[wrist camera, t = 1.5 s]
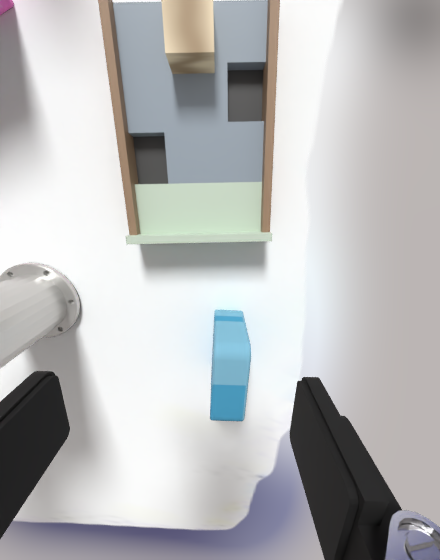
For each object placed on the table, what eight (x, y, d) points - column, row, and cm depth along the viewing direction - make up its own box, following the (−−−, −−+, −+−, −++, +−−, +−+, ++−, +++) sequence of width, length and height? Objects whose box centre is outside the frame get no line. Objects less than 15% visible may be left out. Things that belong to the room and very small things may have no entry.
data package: (214, 306, 39) (213, 348, 28) (241, 307, 39) (252, 349, 28) (211, 367, 43) (209, 426, 31) (236, 368, 43) (243, 427, 31)
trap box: (138, 239, 36) (126, 244, 31) (111, 16, 28) (89, -23, 23) (264, 236, 36) (271, 241, 31) (272, 14, 28) (284, -26, 23)
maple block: (172, 73, 28) (165, 53, 24) (167, 7, 26) (159, -27, 22) (214, 73, 28) (214, 52, 24) (213, 6, 26) (212, -28, 22)
